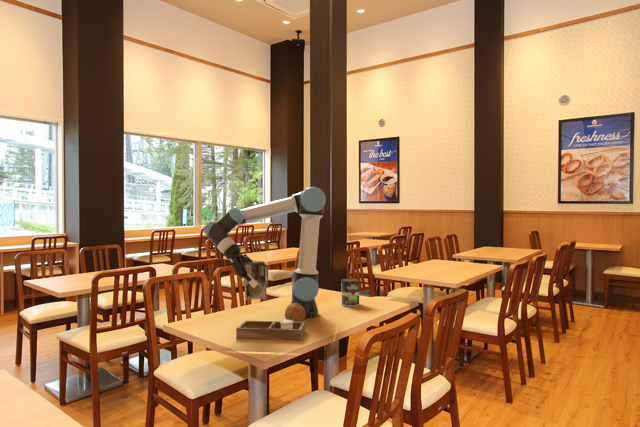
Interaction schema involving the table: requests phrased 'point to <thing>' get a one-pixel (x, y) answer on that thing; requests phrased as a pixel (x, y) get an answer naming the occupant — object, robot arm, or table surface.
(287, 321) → the cream jug
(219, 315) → the table surface
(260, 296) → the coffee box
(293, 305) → the onion
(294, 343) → the table surface
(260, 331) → the caddy
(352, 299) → the coffee can
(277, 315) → the table surface
